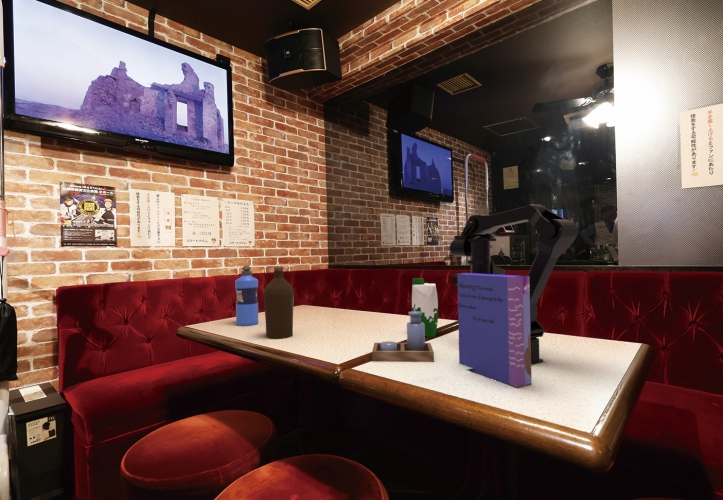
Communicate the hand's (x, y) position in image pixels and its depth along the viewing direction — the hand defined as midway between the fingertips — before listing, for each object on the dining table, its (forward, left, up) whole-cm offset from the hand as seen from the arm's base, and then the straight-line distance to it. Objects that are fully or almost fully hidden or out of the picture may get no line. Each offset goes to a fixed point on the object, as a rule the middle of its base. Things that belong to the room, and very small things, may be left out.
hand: (481, 308), depth 114 cm
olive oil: (+52, +47, -12) cm, 71 cm away
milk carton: (+25, +2, -12) cm, 28 cm away
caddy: (+3, +27, -12) cm, 30 cm away
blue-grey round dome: (+5, +30, -11) cm, 32 cm away
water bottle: (+83, +52, -12) cm, 99 cm away
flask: (+1, +24, -11) cm, 26 cm away
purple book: (-19, +16, -12) cm, 28 cm away
